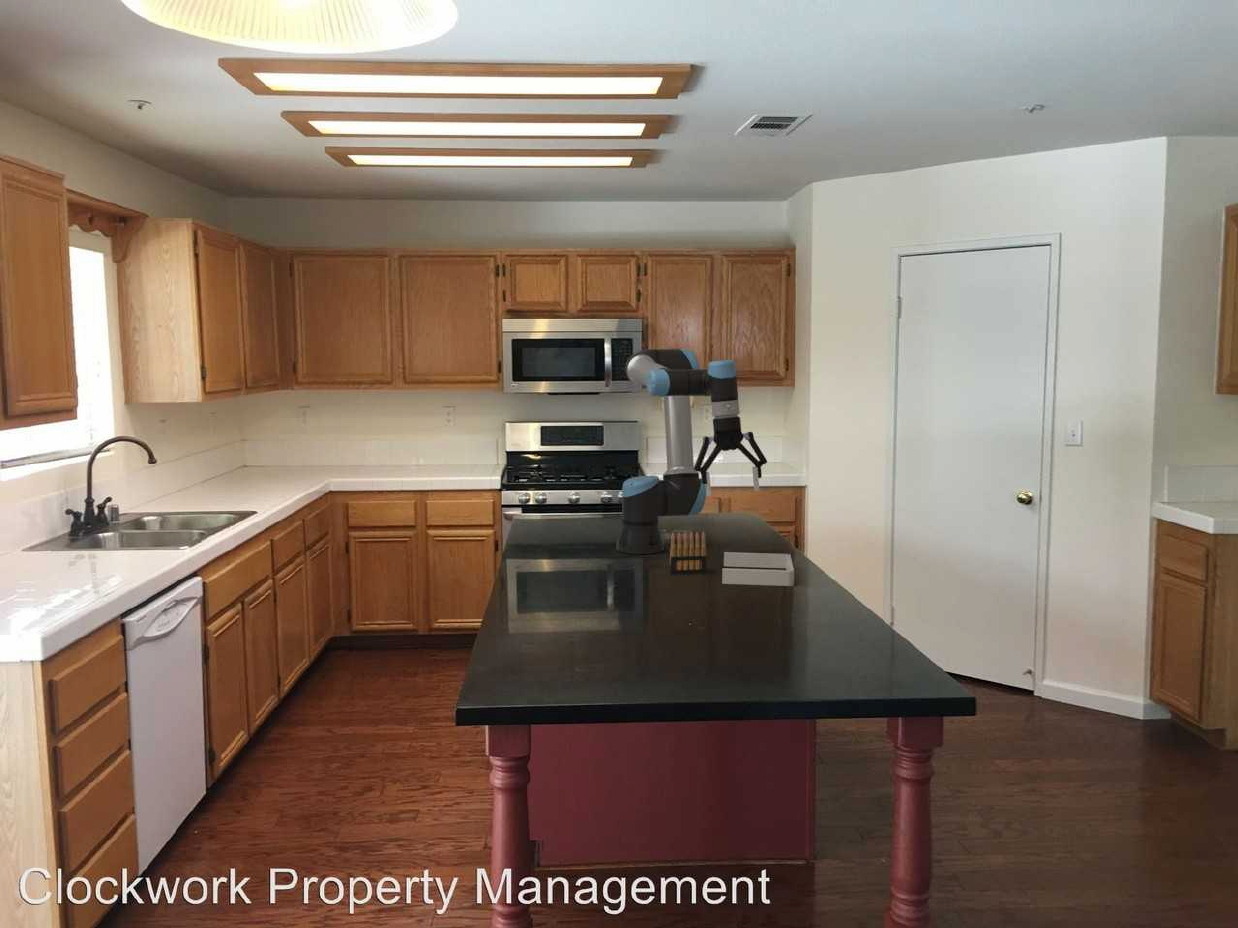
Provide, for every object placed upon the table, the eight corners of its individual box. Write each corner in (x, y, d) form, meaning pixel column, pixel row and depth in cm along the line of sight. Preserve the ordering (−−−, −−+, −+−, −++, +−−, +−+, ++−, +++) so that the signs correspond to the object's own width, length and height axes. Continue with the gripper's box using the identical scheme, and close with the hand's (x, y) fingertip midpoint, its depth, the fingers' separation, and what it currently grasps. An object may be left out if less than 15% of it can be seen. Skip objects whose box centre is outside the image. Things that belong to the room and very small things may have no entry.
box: (723, 565, 273) (724, 552, 273) (789, 567, 271) (790, 554, 270) (722, 583, 251) (722, 569, 251) (793, 586, 249) (794, 571, 248)
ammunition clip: (705, 571, 265) (705, 530, 264) (706, 573, 263) (707, 531, 262) (668, 573, 264) (669, 531, 262) (670, 574, 262) (670, 532, 260)
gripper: (684, 421, 249) (691, 499, 251) (774, 412, 252) (780, 489, 254) (679, 421, 256) (686, 496, 258) (766, 412, 259) (772, 486, 261)
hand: (733, 493), depth 256 cm, fingers open, 13 cm apart
